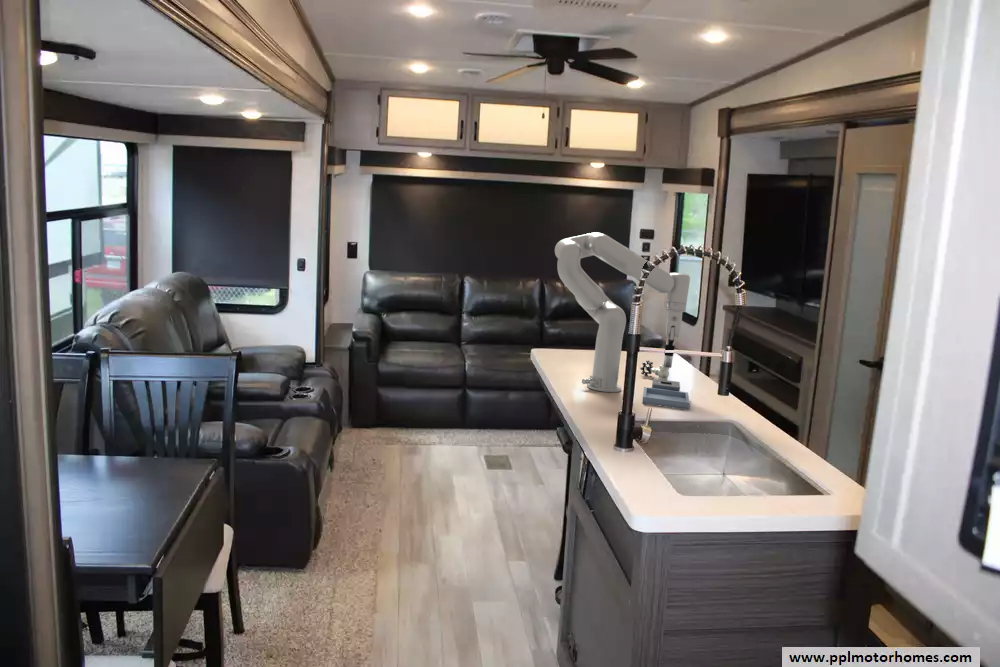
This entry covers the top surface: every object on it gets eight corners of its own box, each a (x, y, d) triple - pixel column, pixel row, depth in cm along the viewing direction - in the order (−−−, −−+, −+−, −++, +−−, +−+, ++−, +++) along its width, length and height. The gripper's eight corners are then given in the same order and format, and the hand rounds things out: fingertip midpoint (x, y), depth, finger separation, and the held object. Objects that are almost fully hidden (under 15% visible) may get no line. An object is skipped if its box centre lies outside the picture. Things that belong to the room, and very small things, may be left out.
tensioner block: (678, 396, 310) (680, 387, 309) (651, 393, 312) (652, 384, 311) (678, 390, 320) (679, 381, 319) (651, 387, 321) (653, 378, 321)
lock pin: (667, 368, 312) (671, 340, 310) (661, 366, 314) (664, 338, 313) (673, 367, 314) (677, 339, 312) (667, 365, 316) (670, 338, 314)
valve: (672, 382, 334) (651, 375, 344) (674, 366, 333) (653, 359, 343) (660, 383, 331) (639, 376, 340) (662, 367, 330) (641, 360, 339)
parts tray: (688, 409, 292) (689, 402, 292) (642, 403, 295) (643, 396, 294) (687, 399, 308) (688, 392, 307) (643, 393, 310) (644, 386, 310)
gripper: (686, 310, 302) (679, 360, 305) (685, 305, 317) (678, 352, 321) (665, 307, 303) (658, 357, 306) (665, 302, 319) (658, 349, 322)
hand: (668, 354), depth 313 cm, fingers closed on lock pin, 3 cm apart
